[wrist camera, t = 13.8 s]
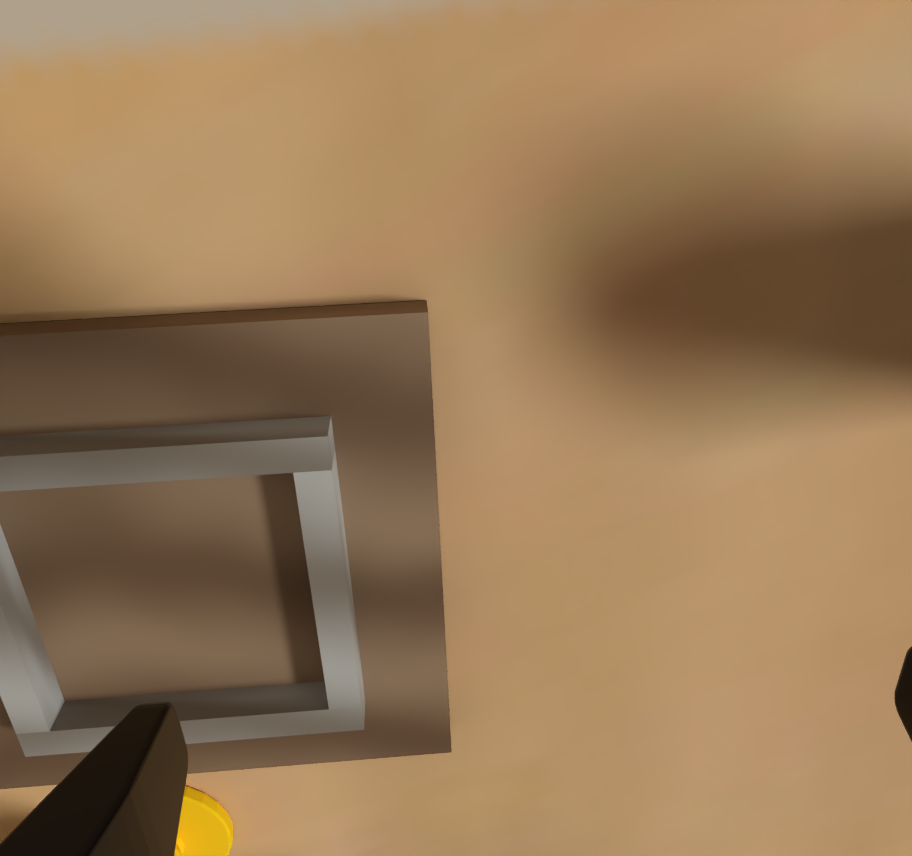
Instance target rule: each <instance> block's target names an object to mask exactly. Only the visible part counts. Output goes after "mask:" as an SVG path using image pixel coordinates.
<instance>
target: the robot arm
mask: <svg viewBox="0 0 912 856" xmlns="http://www.w3.org/2000/svg"><path fill="white" fill-rule="evenodd" d="M895 705H896V708H897V712H898V714H899V716H900V718H901V720H902V723H903V725H904V727H905V729H906V731H907V733H908V735H909V737H910V739H911V741H912V647H911V648H909V649H908V651H907V653H906V656H905V660H904V663H903V666H902V669H901V673H900V676H899V679H898V683H897V686H896V689H895ZM187 771H188V750H187V746H186V742H185V739H184V735H183V731H182V728H181V724H180V720H179V717H178V713H177V710H176V708H175V706H174V705H173V704H172V703H170V702H158V703H145V704H140V705H137V706H136V707H134V708H133V709H132V710H131V711H130V712H129V713H128V714H127V715H126V716H125V717H124V718H123V719H122V720H121V721H120V722H119V723H118V724H117V725H116V726H115V727H114V728H113V729H112V730H111V731H110V732H109V733H108V734H107V735H106V736H105V737H104V738H103V739H102V740H101V741H100V742H99V743H98V744H97V745H96V746H95V747H94V748H93V749H92V750H91V751H90V752H89V753H88V754H87V755H86V756H85V758H84V759H83V760H82V761H81V762H80V763H79V764H78V765H77V766H76V767H75V768H74V769H73V770H72V771H71V772H70V773H69V774H68V775H67V776H66V777H65V778H64V779H63V780H62V781H61V782H60V783H59V784H58V785H57V786H56V787H55V788H54V789H53V790H52V791H51V792H50V793H49V794H48V795H47V796H46V797H45V798H44V799H43V800H42V801H41V802H40V803H39V804H38V805H37V807H36V808H35V809H34V810H33V811H32V812H31V813H30V814H29V815H28V816H27V817H26V818H25V819H24V820H23V821H22V822H21V823H20V824H19V825H18V826H17V827H16V828H15V829H14V830H13V831H12V832H11V833H10V834H9V835H8V836H7V837H6V838H5V839H4V840H3V841H2V842H1V843H0V856H174V853H175V847H176V840H177V834H178V828H179V822H180V815H181V809H182V803H183V796H184V790H185V784H186V777H187Z"/></svg>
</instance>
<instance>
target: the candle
mask: <svg viewBox="0 0 912 856" xmlns="http://www.w3.org/2000/svg"><path fill="white" fill-rule="evenodd" d="M232 841H233V824H232V822H231V819H230V817H229V815H228V813H227V812H226V811H225V809H224V808H223V807H222V806H221V805H220V804H219V803H218V802H217V801H216V800H214V799H213V798H211V797H210V796H208V795H207V794H205V793H204V792H201V791H199V790H196V789H193V788H191V787H188V786H185V790H184V796H183V803H182V809H181V815H180V822H179V828H178V834H177V840H176V847H175V853H174V856H228V854H229V851H230V849H231V846H232Z"/></svg>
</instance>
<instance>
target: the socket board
mask: <svg viewBox="0 0 912 856" xmlns="http://www.w3.org/2000/svg"><path fill="white" fill-rule="evenodd" d="M158 702H170V703H172V704H173V705H174V706H175V708H176V710H177V713H178V717H179V720H180V724H181V728H182V731H183V735H184V739H185V742H186V746H187V750H188V771H187V774H191V773H203V772H216V771H228V770H240V769H252V768H265V767H277V766H289V765H301V764H313V763H326V762H338V761H350V760H362V759H375V758H387V757H399V756H411V755H423V754H436V753H448V752H451V736H450V717H449V698H448V680H447V661H446V642H445V624H444V605H443V586H442V568H441V549H440V530H439V512H438V493H437V474H436V456H435V437H434V418H433V400H432V381H431V362H430V344H429V325H428V309H427V301H426V300H425V301H407V302H388V303H370V304H352V305H334V306H315V307H297V308H279V309H260V310H242V311H224V312H205V313H187V314H169V315H150V316H132V317H114V318H96V319H77V320H59V321H41V322H22V323H4V324H0V789H8V788H20V787H32V786H44V785H57V784H59V783H60V782H61V781H62V780H63V779H64V778H65V777H66V776H67V775H68V774H69V773H70V772H71V771H72V770H73V769H74V768H75V767H76V766H77V765H78V764H79V763H80V762H81V761H82V760H83V759H84V758H85V756H86V755H87V754H88V753H89V752H90V751H91V750H92V749H93V748H94V747H95V746H96V745H97V744H98V743H99V742H100V741H101V740H102V739H103V738H104V737H105V736H106V735H107V734H108V733H109V732H110V731H111V730H112V729H113V728H114V727H115V726H116V725H117V724H118V723H119V722H120V721H121V720H122V719H123V718H124V717H125V716H126V715H127V714H128V713H129V712H130V711H131V710H132V709H133V708H134V707H136V706H137V705H140V704H145V703H158Z"/></svg>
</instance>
